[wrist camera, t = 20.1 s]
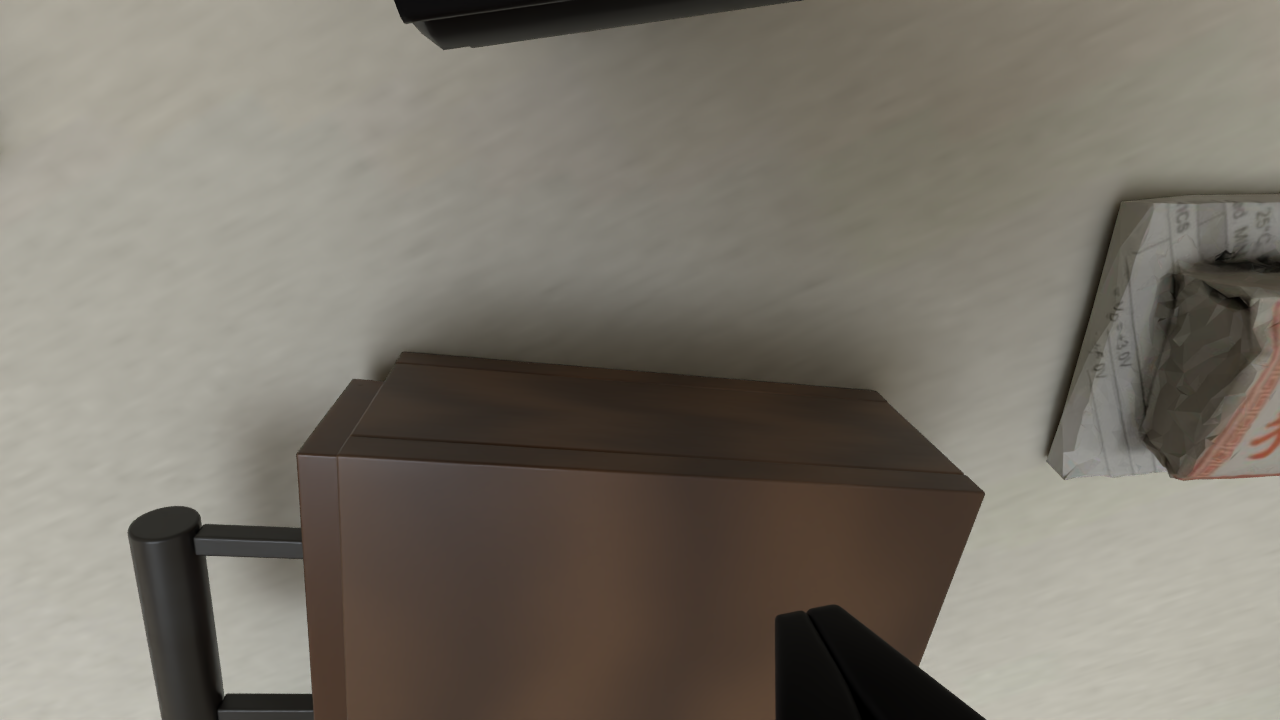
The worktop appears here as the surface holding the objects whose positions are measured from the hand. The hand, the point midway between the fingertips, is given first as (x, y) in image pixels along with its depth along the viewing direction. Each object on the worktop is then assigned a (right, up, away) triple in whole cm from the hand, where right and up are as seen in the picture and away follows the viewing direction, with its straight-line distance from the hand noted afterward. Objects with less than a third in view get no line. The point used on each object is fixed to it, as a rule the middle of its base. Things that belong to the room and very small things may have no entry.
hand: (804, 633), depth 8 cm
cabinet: (-3, -3, +15) cm, 16 cm away
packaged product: (+22, +5, +15) cm, 27 cm away
